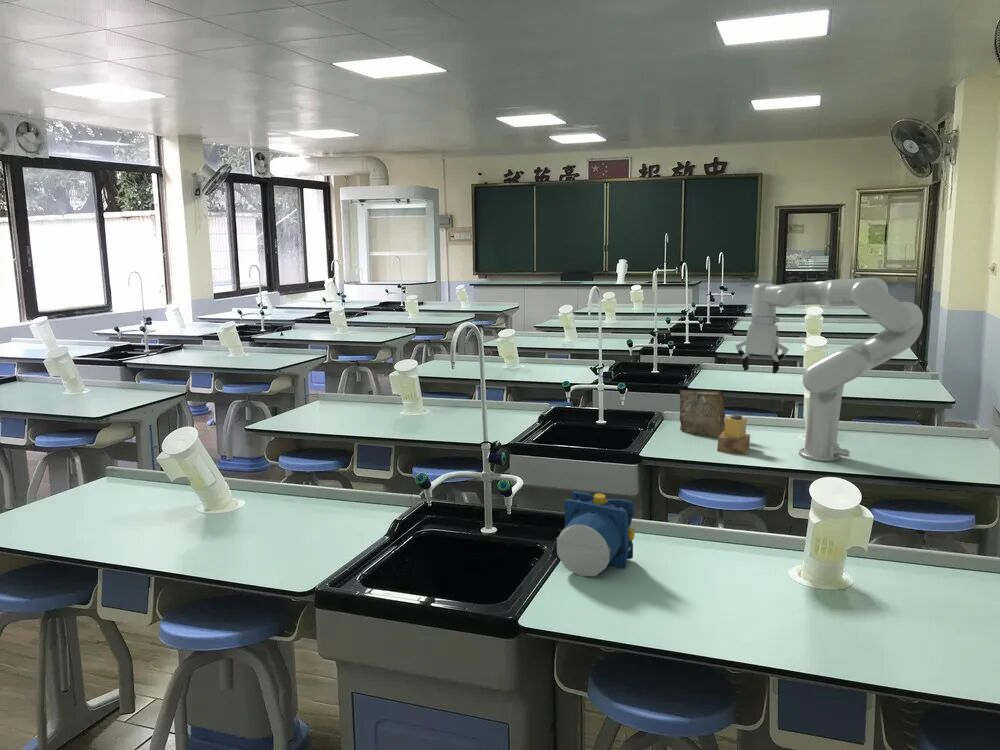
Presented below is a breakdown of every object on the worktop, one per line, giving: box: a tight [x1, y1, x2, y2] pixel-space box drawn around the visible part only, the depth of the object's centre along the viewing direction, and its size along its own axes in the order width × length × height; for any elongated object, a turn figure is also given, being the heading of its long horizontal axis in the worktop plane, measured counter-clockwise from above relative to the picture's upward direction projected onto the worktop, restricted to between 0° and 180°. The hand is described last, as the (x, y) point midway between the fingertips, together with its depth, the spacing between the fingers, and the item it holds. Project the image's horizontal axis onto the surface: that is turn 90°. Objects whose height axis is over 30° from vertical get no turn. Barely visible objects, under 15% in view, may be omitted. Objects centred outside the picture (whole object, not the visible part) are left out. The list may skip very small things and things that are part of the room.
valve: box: [556, 490, 636, 577], centre depth 171 cm, size 13×15×15 cm
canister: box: [724, 413, 748, 439], centre depth 264 cm, size 5×5×7 cm
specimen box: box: [716, 431, 751, 456], centre depth 265 cm, size 9×9×5 cm
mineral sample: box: [679, 389, 726, 439], centre depth 283 cm, size 18×4×16 cm, turn 59°
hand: (760, 371), depth 268 cm, fingers open, 9 cm apart
